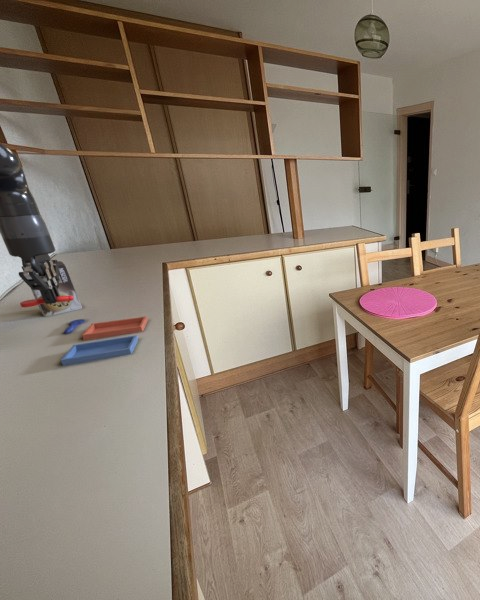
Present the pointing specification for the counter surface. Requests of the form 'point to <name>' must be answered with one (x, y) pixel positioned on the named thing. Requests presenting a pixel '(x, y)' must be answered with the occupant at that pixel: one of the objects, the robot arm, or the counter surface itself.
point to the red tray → (115, 328)
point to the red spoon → (40, 301)
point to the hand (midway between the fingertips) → (53, 301)
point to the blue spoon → (73, 325)
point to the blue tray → (100, 350)
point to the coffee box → (64, 289)
